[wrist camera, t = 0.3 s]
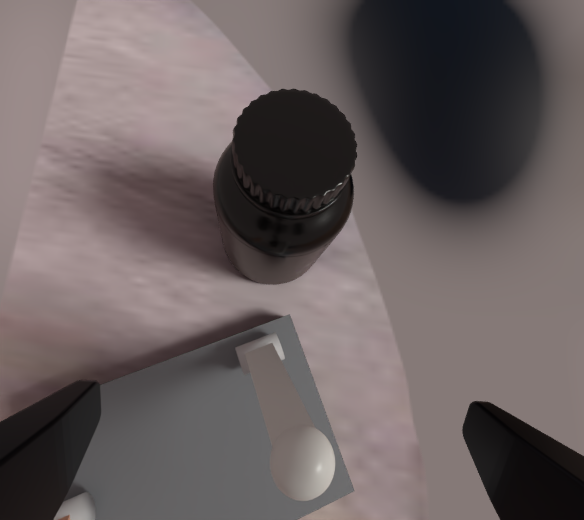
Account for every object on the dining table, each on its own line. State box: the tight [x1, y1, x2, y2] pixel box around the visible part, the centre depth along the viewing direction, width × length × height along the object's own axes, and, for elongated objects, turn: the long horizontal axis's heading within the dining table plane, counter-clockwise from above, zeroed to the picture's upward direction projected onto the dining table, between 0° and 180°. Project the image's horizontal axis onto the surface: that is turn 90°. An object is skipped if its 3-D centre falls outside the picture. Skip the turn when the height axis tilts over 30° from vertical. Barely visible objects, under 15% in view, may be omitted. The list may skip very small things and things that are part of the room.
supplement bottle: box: [213, 89, 357, 285], centre depth 18 cm, size 7×7×12 cm
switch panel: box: [63, 314, 354, 520], centre depth 20 cm, size 10×16×2 cm
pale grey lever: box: [235, 333, 335, 501], centre depth 15 cm, size 2×2×10 cm
